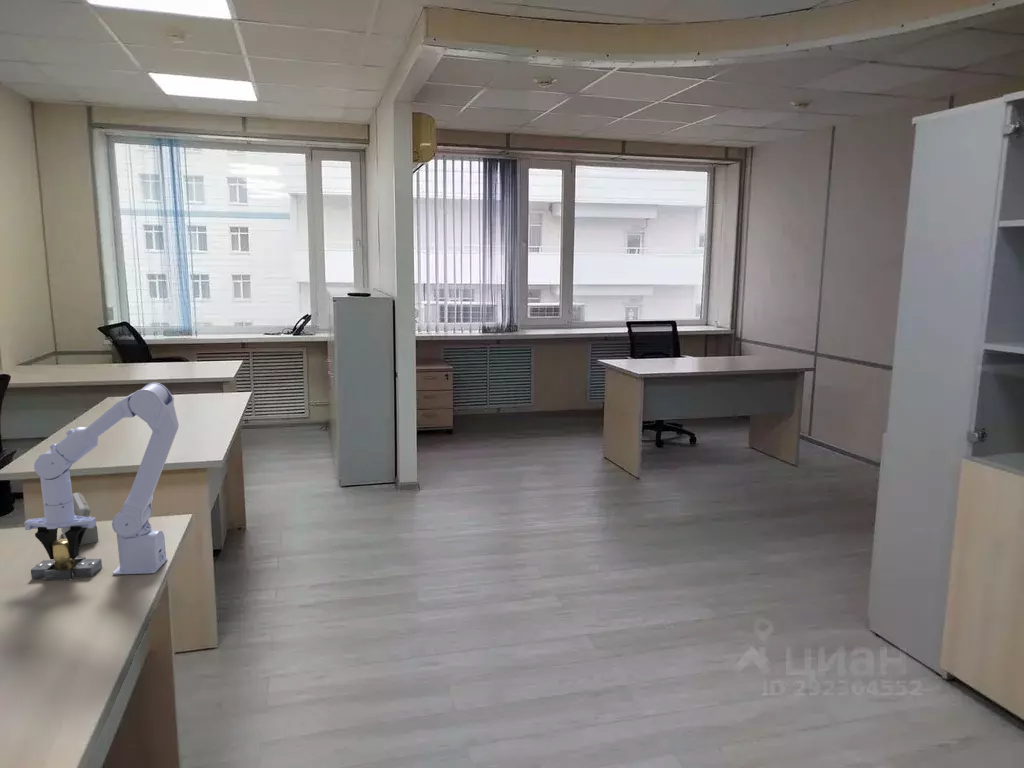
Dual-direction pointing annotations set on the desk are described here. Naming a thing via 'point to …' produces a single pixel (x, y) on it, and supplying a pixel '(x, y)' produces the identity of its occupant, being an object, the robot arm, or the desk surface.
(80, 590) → the desk surface
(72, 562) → the link pin
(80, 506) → the digital clock
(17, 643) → the desk surface
